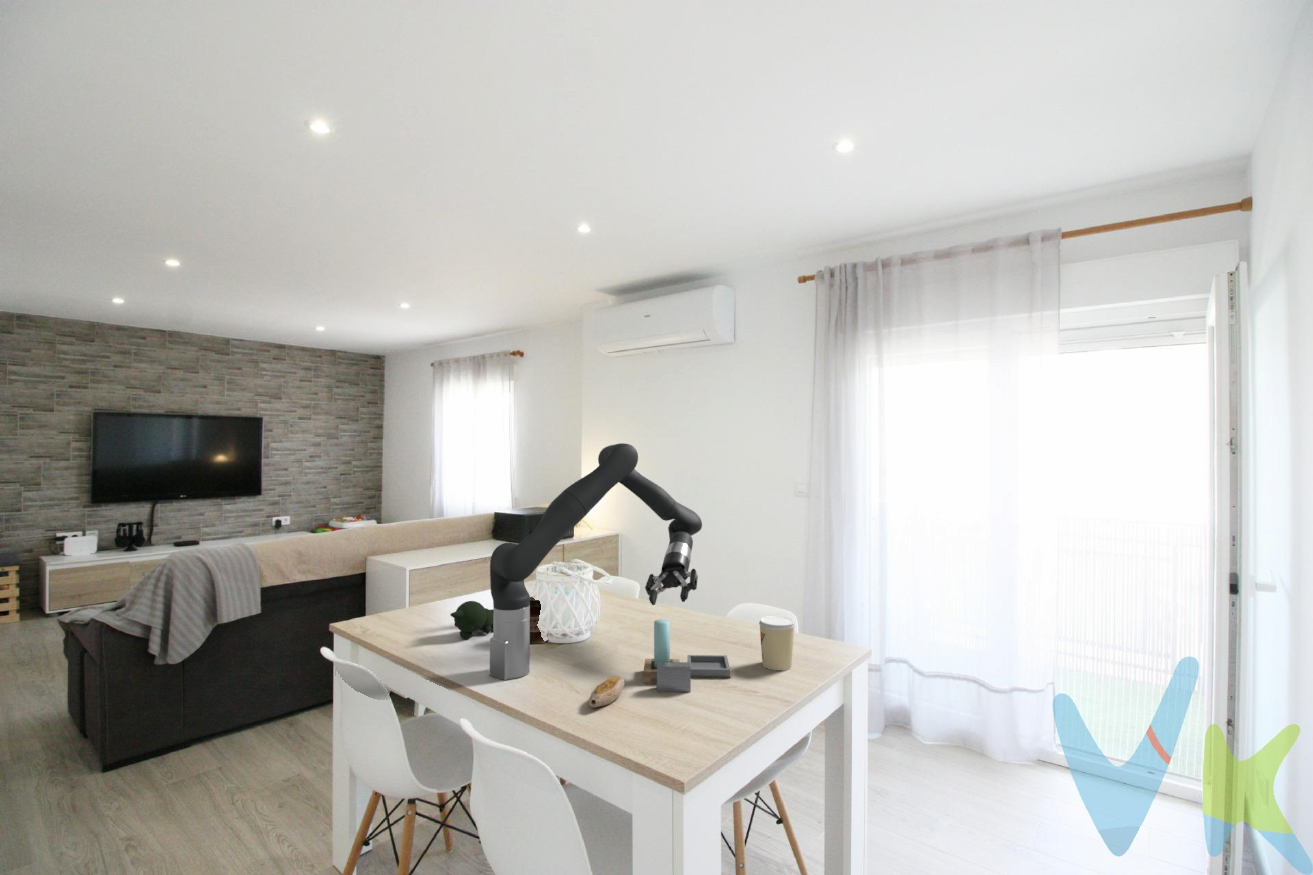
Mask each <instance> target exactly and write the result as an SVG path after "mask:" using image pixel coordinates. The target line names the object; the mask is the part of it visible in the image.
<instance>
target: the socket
mask: <svg viewBox="0 0 1313 875" xmlns="http://www.w3.org/2000/svg"><path fill="white" fill-rule="evenodd" d="M670 662H681V661H680V658H670ZM643 664H644V665H643V684H645V685H646V684H648V685H651V684H652V685H657V669H654V658H645V659H644V663H643Z"/></svg>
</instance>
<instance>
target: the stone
mask: <svg viewBox="0 0 1313 875" xmlns="http://www.w3.org/2000/svg"><path fill="white" fill-rule="evenodd" d="M596 686H597V687H596V688H594V690H593V691H592V692H591V694H590V696H589V700H588V701H589V702H588V704H589V706H590V707H591V708H593V709H594V708H600V707H604V706H608V705H611V704H612V703H613V702H614V701H616V700H618V698H619V697H620V695H622V694H621V693H622V691H623V690H624V688H625V680H624V679H623V677H622V676H613V677H612V676H610V677H608V678H607V679H606V680H604V681H602V683H600V684H599V685H596Z"/></svg>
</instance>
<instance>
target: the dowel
mask: <svg viewBox="0 0 1313 875" xmlns="http://www.w3.org/2000/svg"><path fill="white" fill-rule="evenodd" d="M653 637H654V638H653V641H654V642H653V659H654V669H657V662H670V659H671V649H670V648H671V622H670V620H668V619H663V618H661V619H660V618H659V619H655V620H654V621H653Z"/></svg>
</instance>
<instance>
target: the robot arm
mask: <svg viewBox="0 0 1313 875" xmlns="http://www.w3.org/2000/svg"><path fill="white" fill-rule="evenodd" d="M597 460H598V466H597V467H596V468H595V469H594V470H593V471H591V472H590V473H588V474H587V475H584V476H583V477H581V478H580V479H578V480H577V481H574V483H572V484H570V485H569V486H568V487H566V488H565V489H564V490H563V491H562V492H560V494H558V495H557V497H555V498H554V499H553V501H551V502H550V504H549V505H548V506H547V508H546V509H545V511H544V513H543V515H542V518H541V519H540V522H539V524H537V526H536V527H535V529H533V531H532V532H531V533H529V534H528V535H527V536H526V537H525V538H524V539H522V541H519V543H512V542H503V543H501V544H499V545H498V546H496V548H494V550H493V551H492V554H491V557H490V560H489V562H490V563H489V578H490V580H489V581H490V583H489V584H490V585H489V586H490V594H491V598H492V603H493V604H492V605H493V607H492V608H493V609H492V610H493V629H492V633H493V634H492V635H493V636H492V637H490V638H489V675H490V676H491V677H495V678H497V679H500V680H503V681H508V680H511V679H512V680H513V679H517V678H518V679H519V678H522V677H524V676H526V675H528V674H529V673H530V665H531V664H530V659H531V658H530V657H531V656H530V655H531V654H530V648H531V647H530V644H531V643H530V597H531V596H530V593H529V592H528V590H527V588H526V586H525V580H526V579H527V578H529V576H531V574H533V573H534V571H535V570H536V569H537V567H539V565H540V564H541V563H542V562H543V561H544V559H545V558H546V557H547V555H548V554H549V553H550V552H551V551H552V549H554V547H555V546H556V545H557V544H559V542H561V540H562V539H564V538H565V537H566V536H567V535H568V534H569V532H571V530H573V529H574V528H575V527H576V526H577V524H579V523H580V522H581V521H582V520H583V519H584V518H585V517H586V516H587V515H588V514H589V513H590V511H591V510H592V509H593V508H594V507H595V506H596V505H597V504H598V503H599V502H600V501H601V500H602V499H603V498H604V497H605V496H606V494H608V492H610V491H611V489H612V488H614V487H615V486H616V485H617V484H618V483H620V484H621V485H622V486H624V487H625V488H626V489H628V490H629V491H630V492H631V493H633V494H634V495H635V496H636V497H637V498H639V499H640V500H641V501H642V502H643V503H644V504H645V505H646V506H647V507H649V508H650V510H652V511H653V512H654V513H655V514H656V516H658V517H659V518H660V519H661V520H662V521H665V522H666V521H670V523H669V525H668V528H667V530H668V537H669V543H668V545H667V546H668V547H667V548H666V551H665V553H664V558H663V562H662V565H661V568H660V569H661V570H660V574H658V575H654V573H651V574H649V575H648V579H647V581H646V584H645V586H644V588H645V591H646V594H647V595H648V596H649V597H648V600H649V602H650V604H651V605H652V606H655V605H656V604H657V599H658V595H659V594H660V593H663V592H665V591H666V590H667V589H672V588H678V587H680V588H681V590H680V596H679V597H680V601H681V602H682V603H685V602H686V600H688V599H689V598H688V597H689V593H690V591H695V590H697V589H698V588H697V587H698V578H699V576H698V573H697V570H696V568H692V569H690V570H691V571H689V568H690V564H691V561H692V560H691V559H692V551H693V545H694V544H693V543H694V540H693V537H692V536H694V535H696V534H697V533H699V532H700V531H701V530H702V528H703V522H702V519H701V517H700V516H699V515H698V513H696V512H695V511H694V510H693V509H690V508H688V507H687V506H685V505H683V504H682V503H679V502H678V501H677V500H675V499H674V498H673V497H672V496H671V494H669V493H668V492H667V491H666V490H665V489H664V488H662V487H661V486H659V485H658V484H657V483H655V482H654V481H652V480H650V479H648V478H646V477H645V476H644V475H642V474H641V473H640V472H639V471H637V469H635V468H636V467H637V464H638V462H639V454H638V451H637V449H636V447H634V446H633V445H632V444H629V443H625V442H624V443H622V442H621V443H616V444H610V445H607V446H605V447H603V448H602V449H601V450H600V452H599V454H598V457H597ZM688 578H689V582H687V581H686V580H688Z"/></svg>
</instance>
